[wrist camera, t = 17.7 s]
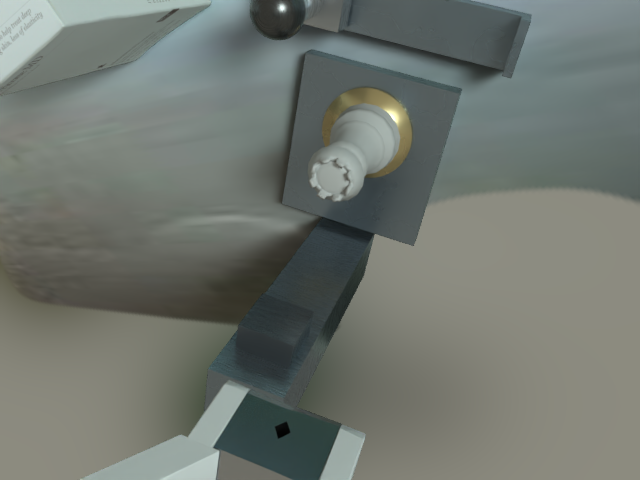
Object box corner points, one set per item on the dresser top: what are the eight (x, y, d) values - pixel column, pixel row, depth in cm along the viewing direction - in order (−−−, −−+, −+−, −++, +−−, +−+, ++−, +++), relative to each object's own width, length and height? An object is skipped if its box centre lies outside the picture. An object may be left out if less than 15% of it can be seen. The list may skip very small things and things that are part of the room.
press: (531, 14, 33) (521, 89, 18) (433, 299, 44) (375, 495, 29) (287, -43, 36) (103, -19, 21) (251, 237, 46) (111, 386, 31)
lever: (355, -21, 33) (310, -7, 27) (346, 29, 35) (300, 53, 28) (291, -36, 34) (231, -27, 28) (284, 14, 36) (226, 34, 29)
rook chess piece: (364, 86, 36) (324, 122, 30) (416, 135, 37) (388, 182, 30) (321, 135, 39) (276, 179, 32) (370, 181, 39) (335, 233, 33)
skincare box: (137, 61, 43) (-30, 117, 30) (87, -17, 41) (-111, 9, 29) (219, -1, 38) (65, 34, 26) (167, -90, 37) (-23, -97, 25)
